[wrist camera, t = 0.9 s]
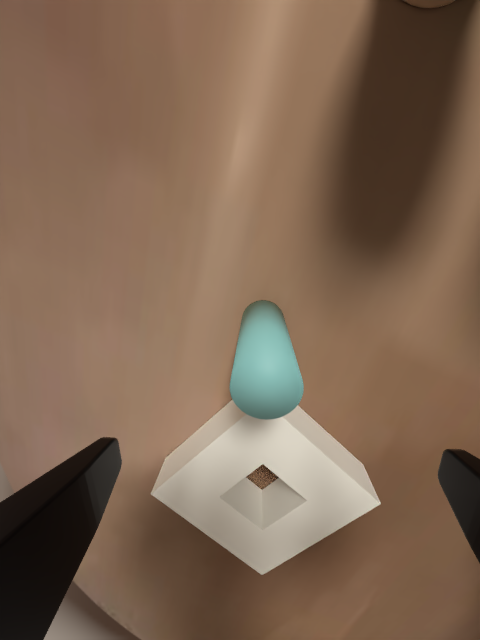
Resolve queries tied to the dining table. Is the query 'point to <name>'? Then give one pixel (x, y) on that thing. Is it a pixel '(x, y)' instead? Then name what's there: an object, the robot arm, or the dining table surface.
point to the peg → (265, 364)
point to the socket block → (274, 500)
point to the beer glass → (428, 3)
